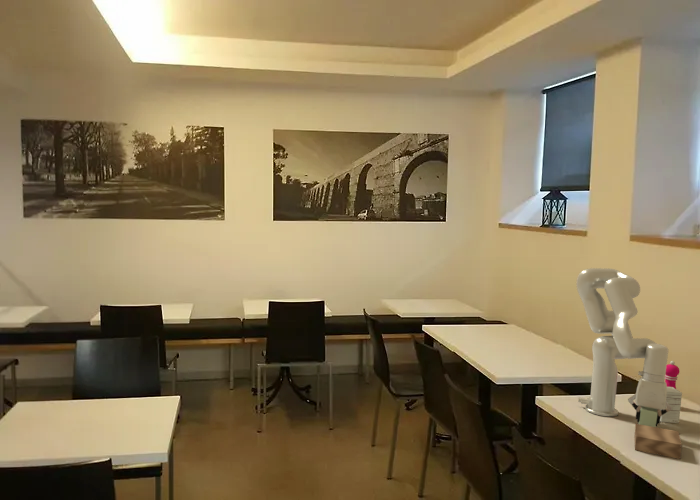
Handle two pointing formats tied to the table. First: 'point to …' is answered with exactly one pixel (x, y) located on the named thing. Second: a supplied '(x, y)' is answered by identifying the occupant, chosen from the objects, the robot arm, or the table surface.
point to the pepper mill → (671, 374)
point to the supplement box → (675, 403)
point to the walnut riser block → (657, 441)
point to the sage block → (648, 416)
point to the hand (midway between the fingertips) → (647, 422)
